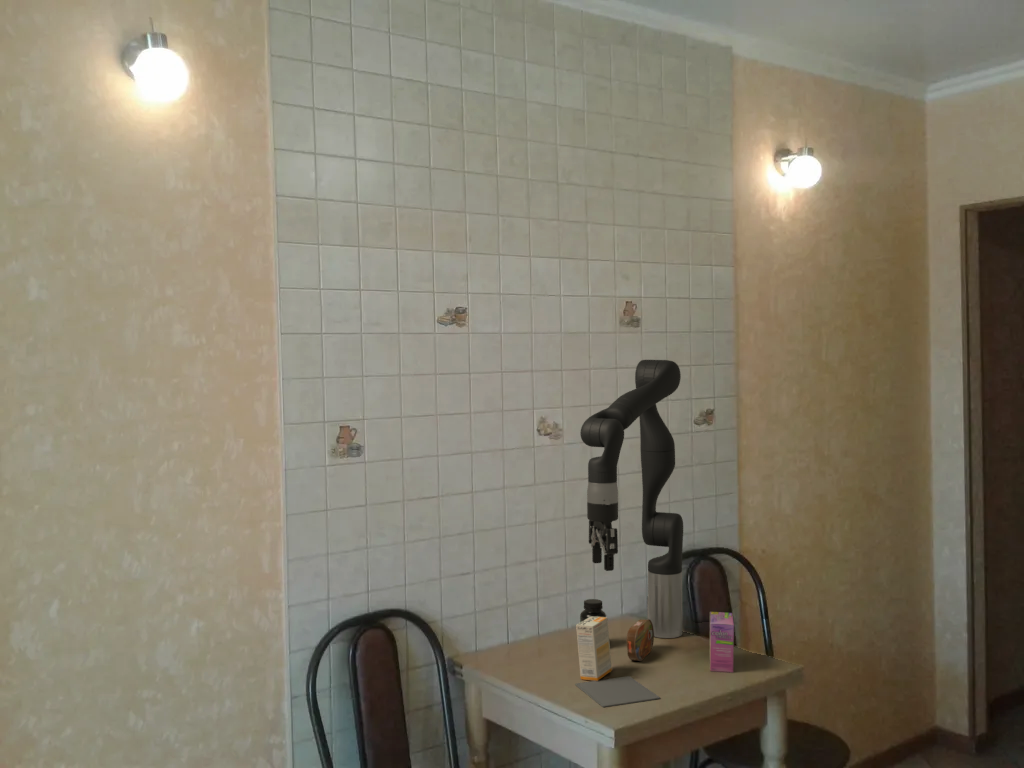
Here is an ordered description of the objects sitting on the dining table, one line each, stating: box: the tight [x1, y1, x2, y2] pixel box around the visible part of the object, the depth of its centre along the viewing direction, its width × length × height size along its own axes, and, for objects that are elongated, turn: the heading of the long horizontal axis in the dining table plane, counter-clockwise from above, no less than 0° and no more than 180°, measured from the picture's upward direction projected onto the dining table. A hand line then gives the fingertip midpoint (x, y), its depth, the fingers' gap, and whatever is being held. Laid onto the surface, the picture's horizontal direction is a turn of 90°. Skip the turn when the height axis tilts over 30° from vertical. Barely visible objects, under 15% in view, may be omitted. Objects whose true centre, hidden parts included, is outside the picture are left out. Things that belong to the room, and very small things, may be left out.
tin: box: [625, 619, 655, 662], centre depth 238 cm, size 15×3×8 cm, turn 154°
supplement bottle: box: [579, 598, 607, 623], centre depth 245 cm, size 7×7×12 cm
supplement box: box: [575, 616, 613, 681], centre depth 223 cm, size 8×5×13 cm, turn 149°
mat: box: [574, 675, 661, 708], centre depth 212 cm, size 15×14×1 cm
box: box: [709, 611, 735, 674], centre depth 229 cm, size 10×6×12 cm, turn 168°
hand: (602, 566), depth 228 cm, fingers open, 8 cm apart
